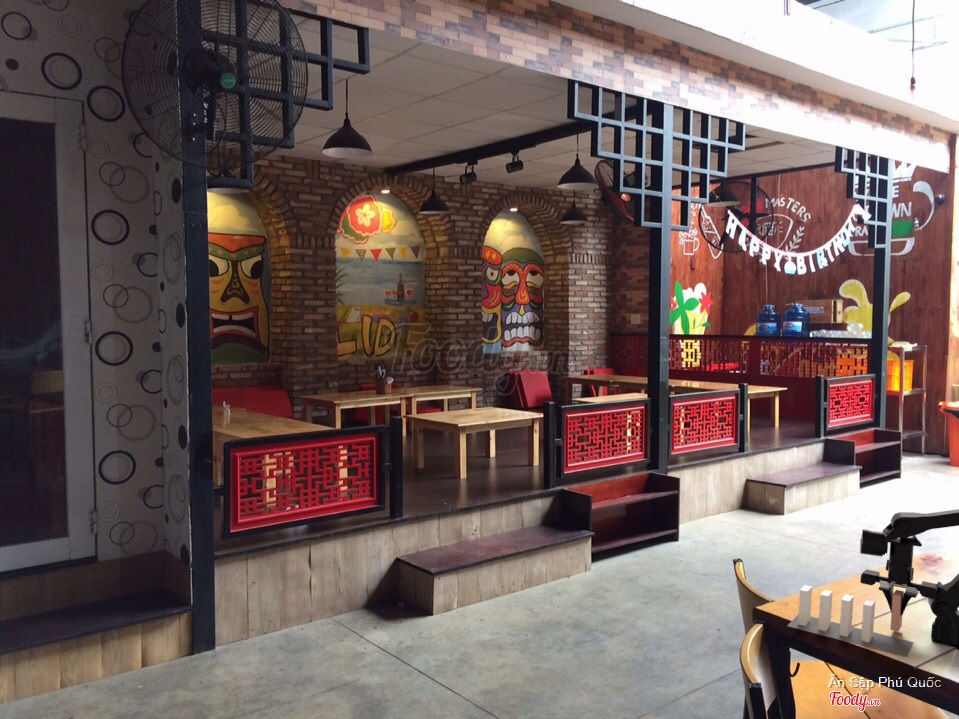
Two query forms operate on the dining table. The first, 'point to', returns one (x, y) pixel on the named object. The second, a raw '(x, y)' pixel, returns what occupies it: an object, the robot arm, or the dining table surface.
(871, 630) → the ivory domino
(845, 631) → the ivory domino
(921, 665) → the dining table surface
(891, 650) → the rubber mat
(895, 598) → the terracotta domino
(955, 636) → the robot arm
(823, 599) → the ivory domino
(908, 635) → the dining table surface
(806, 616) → the ivory domino
